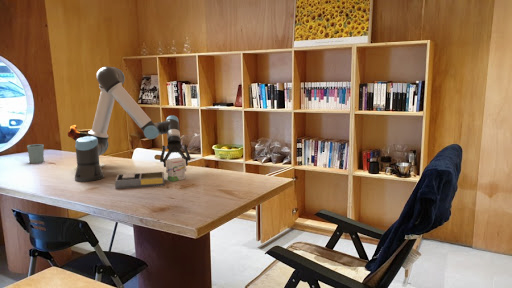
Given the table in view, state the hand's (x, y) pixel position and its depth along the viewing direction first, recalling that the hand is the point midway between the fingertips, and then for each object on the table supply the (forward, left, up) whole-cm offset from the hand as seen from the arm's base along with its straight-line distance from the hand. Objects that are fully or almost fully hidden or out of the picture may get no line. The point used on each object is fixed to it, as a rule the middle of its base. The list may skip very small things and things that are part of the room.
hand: (176, 170), depth 217 cm
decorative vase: (-53, +52, -6) cm, 75 cm away
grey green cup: (-91, +78, -6) cm, 120 cm away
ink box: (0, +2, -6) cm, 6 cm away
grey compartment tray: (-19, -3, -5) cm, 20 cm away
